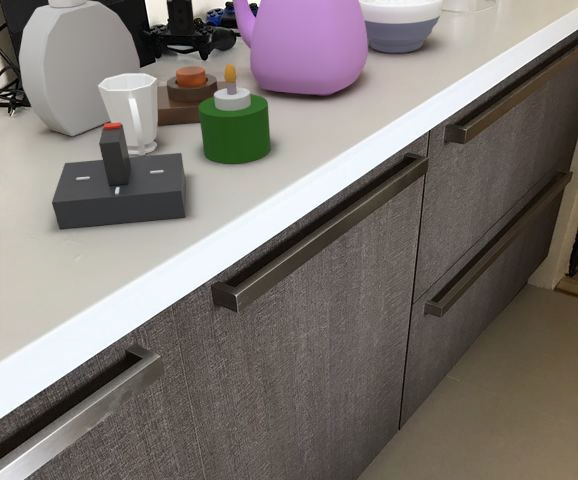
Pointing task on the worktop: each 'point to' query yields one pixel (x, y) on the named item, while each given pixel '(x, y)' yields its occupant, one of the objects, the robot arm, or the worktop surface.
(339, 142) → the worktop surface
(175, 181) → the dial panel
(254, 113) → the candle
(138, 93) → the cup
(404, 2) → the bowl
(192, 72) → the power button
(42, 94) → the soap bottle
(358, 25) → the teapot
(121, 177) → the block
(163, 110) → the switch block
